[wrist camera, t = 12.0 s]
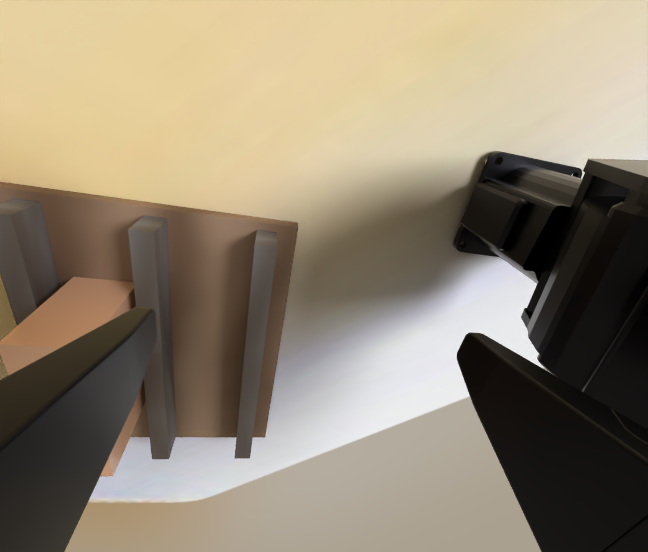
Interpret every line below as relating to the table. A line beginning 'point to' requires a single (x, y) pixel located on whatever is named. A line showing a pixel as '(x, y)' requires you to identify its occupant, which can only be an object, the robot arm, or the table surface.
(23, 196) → the ribbed brown panel
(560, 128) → the table surface
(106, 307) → the terracotta strip
